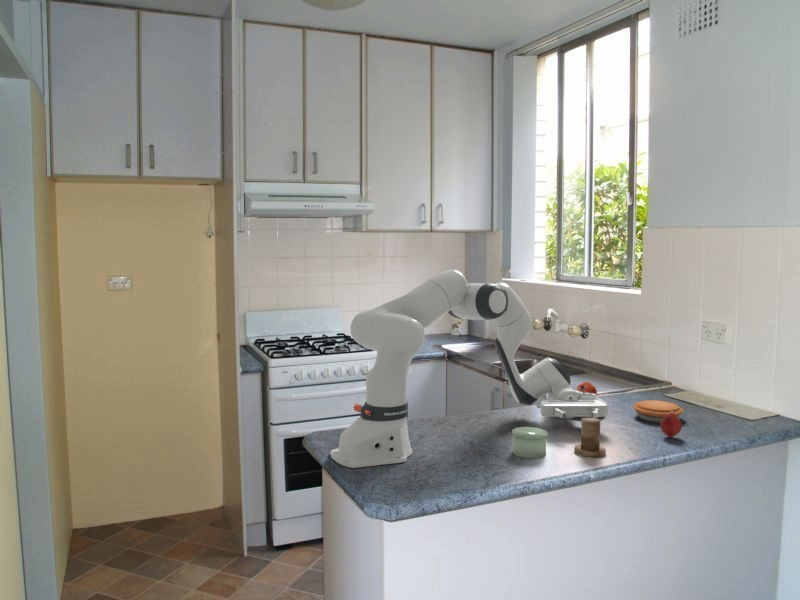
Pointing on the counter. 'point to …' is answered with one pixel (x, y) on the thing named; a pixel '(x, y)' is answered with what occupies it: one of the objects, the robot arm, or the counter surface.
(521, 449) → the canister
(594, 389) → the pomegranate
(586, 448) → the lid
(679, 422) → the onion
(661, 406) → the pie
